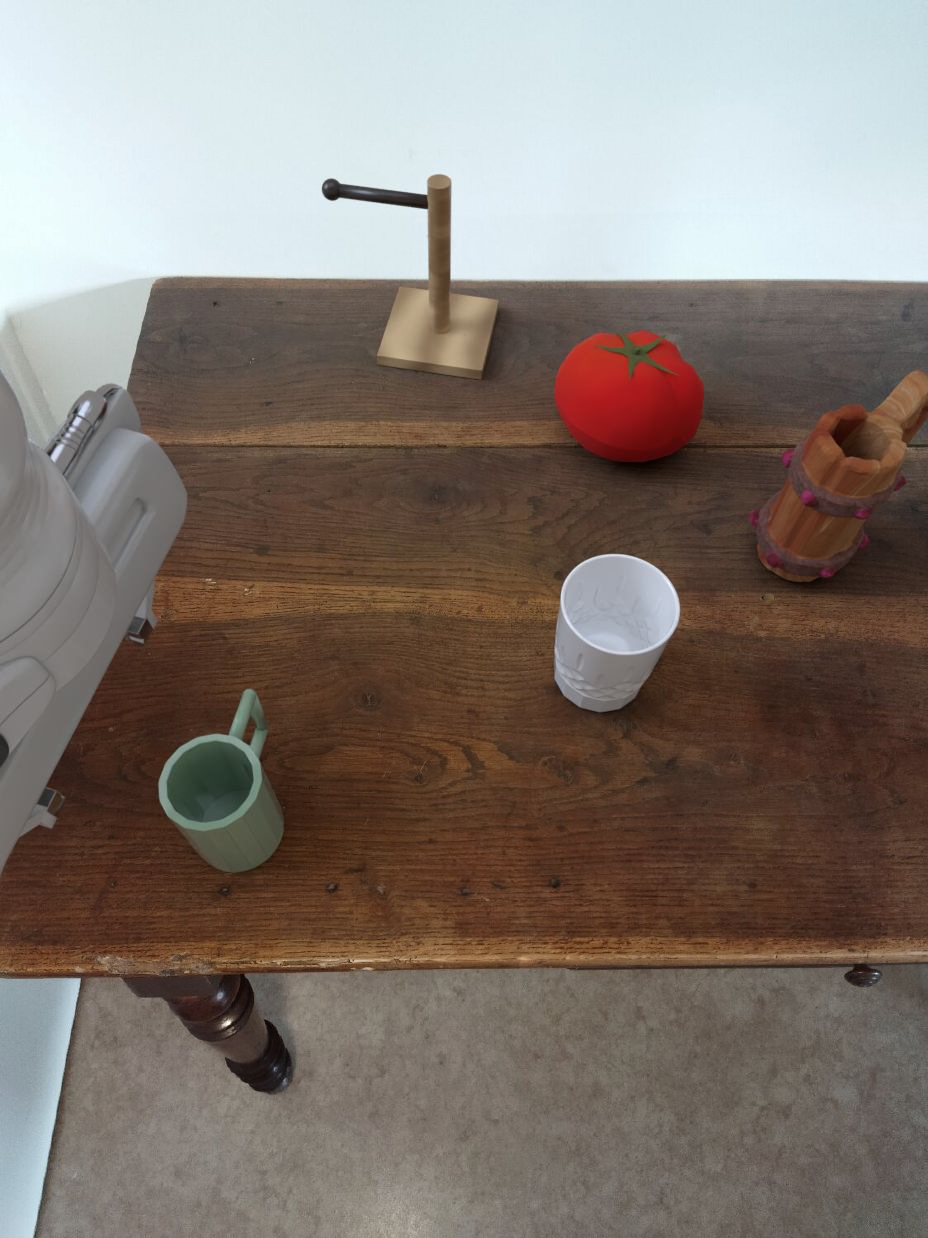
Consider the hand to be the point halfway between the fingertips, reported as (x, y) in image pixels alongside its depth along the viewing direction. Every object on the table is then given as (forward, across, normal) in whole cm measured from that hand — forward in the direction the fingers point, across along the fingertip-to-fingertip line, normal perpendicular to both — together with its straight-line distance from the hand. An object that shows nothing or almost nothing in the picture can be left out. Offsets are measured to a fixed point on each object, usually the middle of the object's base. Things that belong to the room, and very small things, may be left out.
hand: (92, 715), depth 42 cm
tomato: (+22, -43, +22) cm, 53 cm away
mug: (+20, -37, +40) cm, 58 cm away
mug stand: (+24, -50, 0) cm, 56 cm away
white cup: (+20, -19, +25) cm, 37 cm away
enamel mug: (+20, -2, +4) cm, 21 cm away
